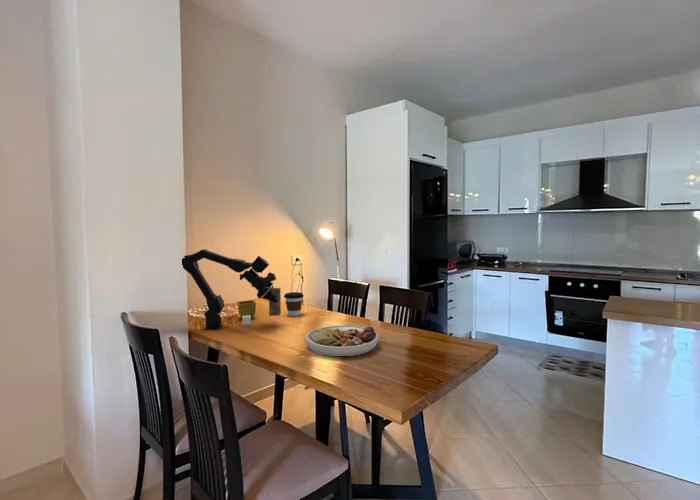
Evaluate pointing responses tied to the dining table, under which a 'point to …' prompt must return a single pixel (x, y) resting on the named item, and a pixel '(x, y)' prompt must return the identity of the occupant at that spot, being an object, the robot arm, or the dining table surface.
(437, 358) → the dining table surface
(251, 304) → the flower pot
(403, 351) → the dining table surface
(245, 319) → the ceramic cube
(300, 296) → the coffee cup
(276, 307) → the walnut block
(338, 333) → the bowl
